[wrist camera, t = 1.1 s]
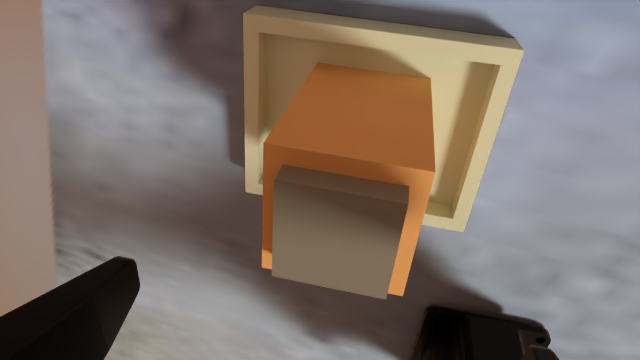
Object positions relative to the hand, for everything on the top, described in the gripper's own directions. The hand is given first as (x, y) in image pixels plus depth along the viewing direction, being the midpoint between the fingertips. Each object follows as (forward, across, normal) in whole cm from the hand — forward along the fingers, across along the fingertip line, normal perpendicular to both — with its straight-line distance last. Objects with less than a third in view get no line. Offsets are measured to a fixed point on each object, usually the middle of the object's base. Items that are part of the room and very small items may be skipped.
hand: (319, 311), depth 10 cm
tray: (+11, 0, 0) cm, 11 cm away
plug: (+10, 0, 0) cm, 10 cm away
